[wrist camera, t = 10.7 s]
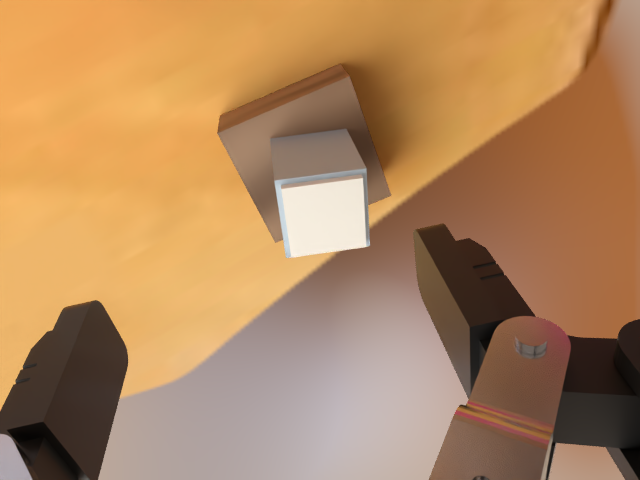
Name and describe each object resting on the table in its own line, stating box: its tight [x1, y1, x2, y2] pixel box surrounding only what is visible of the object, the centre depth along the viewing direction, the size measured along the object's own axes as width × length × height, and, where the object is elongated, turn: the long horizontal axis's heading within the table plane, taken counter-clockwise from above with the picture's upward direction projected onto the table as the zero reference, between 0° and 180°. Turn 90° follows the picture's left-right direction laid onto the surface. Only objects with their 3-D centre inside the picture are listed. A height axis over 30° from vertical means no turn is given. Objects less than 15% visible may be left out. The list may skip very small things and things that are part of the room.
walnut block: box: [217, 64, 391, 243], centre depth 35 cm, size 9×9×4 cm
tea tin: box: [270, 129, 370, 258], centre depth 30 cm, size 5×5×7 cm
